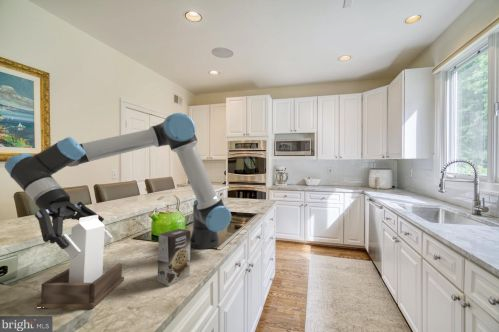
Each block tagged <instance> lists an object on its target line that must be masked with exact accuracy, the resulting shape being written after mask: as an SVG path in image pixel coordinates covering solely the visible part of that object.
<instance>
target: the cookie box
mask: <svg viewBox="0 0 499 332" xmlns="http://www.w3.org/2000/svg"><path fill="white" fill-rule="evenodd" d="M191 233H192V231H191V230H189V229H183V228H176V229H174V230H169V231H165V232H161V233H158V251H157V252H158V253H157V256H158V257H157V282H158V283H161V284H163V285H165V286H167V287H171V286H172V285H175V284H176V283H178V282H179V281H182V280H183V279H185V278H187V277H189V276H190V274H191V273H190V272H191V271H190V270H191V268H190V267H191V264H190V263H191V247H190V237H191Z"/></svg>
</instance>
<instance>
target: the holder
mask: <svg viewBox="0 0 499 332" xmlns="http://www.w3.org/2000/svg"><path fill="white" fill-rule="evenodd" d="M122 274H123V263H122V262H118V263H116V265H114V266H113V267H111V268H110V269H109V270H108V271H106V272H104V273H103V274H102V276H100V277H99V278H98V279H96V280H95V281H94V282H92V283H69V268H68V269H66V270H63V271H62V272H59V273H58V274H57V275H54V276H53V277H52V278H49V279H48V280H46V281H44V282H43V283H41V290H40V291H41V293H40V295H41V296H40V298H41V299H40V302H38V303H36V308H37V307H41V308H43V307H44V308H76V309H75V310H87V309H88V310H89V309H91V310H92V309H94V308H96V307H97V306H98V305H99V304H101V302H102V301H103V300H104V299H105V298H106V297H108V296H109V295H110V294H111V293H112V292H113V291H114V290H116V289H117V288H118V287H119V286H120V285H121V284H122V283H123V282H124V281H125V277H124V276H123V275H122Z"/></svg>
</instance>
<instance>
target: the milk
mask: <svg viewBox="0 0 499 332" xmlns="http://www.w3.org/2000/svg"><path fill="white" fill-rule="evenodd" d="M98 215H99V214H98ZM98 215H93V216H88V217H82V218H79V220H78V223H77V224H75V225H74V226H72V227H71V230H70V232H71V233H70V239H71V240H72V241H73V242H74V243H75V244H76V246H77V247H78V248H79V249H80V250H81V252H80V253H79V254H78V255H77V256H76V257H75V258H73V259H72V258H71V257H70V256H69V267H68V269H69V283H92V282H94V281H95V280H96V279H98V278H99V277H100V276H102V275H103V274H104V273H103V270H104V249H105V247H104V246H105V242H104V232H105V228H106V227H105V225H106V224H104V223H103V221H102V222H101V221H100V220H99V219H98Z"/></svg>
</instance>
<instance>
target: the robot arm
mask: <svg viewBox="0 0 499 332" xmlns="http://www.w3.org/2000/svg"><path fill="white" fill-rule="evenodd" d="M195 133H196V123H195V122H194V121H193V119H192V117H190V116H189V115H188V114H185V113H182V112H174V113H172V114H171V115H170V114H169V115H168V116H167V117H165V119H164V121H162V122H161V123H159V124H156V125H152V126H150V127H149V128H148V129H143V130H140V131H135V132H129V133H124V134H121V135H117V136H110V137H107V138H102V139H101V138H100V139H98V140H92V141H87V142H83V143H78V142H77V140H75V139H74V137H69V136H68V137H65V138H64V139H61V140H59V141H57V142H56V143H54V144H52V145H51V146H49V147H47V148H45V149H43V150H42V151H40V152H38V153H36V154H31V153H26V152H25V153H20V154H18V155H12V156H11V157H10V158H8V159H7V160H6V161H5V162H4V169H5V170H6V172H7V173H8V174H9V176H10V178H11V179H13V180H14V182H15V183H16V184H17V185H18V186H19V187H20V188H21V189H22V190H23V191H24V192H25V193H26V195H27V196H28V197H29V198H30V200H32V202H34V203H35V205H36V206H37V208H38V209H39V210H38V211H37V212H36V213H35V214H34V217H35V218H36V220H37V221H38V224H39V229H40V233H41V238H42V240H43V242H44V243H48V242H49V243H50V244H55V243H56V244H57V246H58V247H59V248H60V249H62V250H64V251H65V252H66V253H67V255H68V256H69V258H70V257H71V258H72V259H73V258H75V257H76V256H77V255H78V254H79V253H80V252H81V250H80V249H79V248H78V247H77V246H76V244H75V243H74V242H73V241H72V240H71V237H70V236H69V235H68V234H67V233H64V232H63V231H64V227H63V226H64V225H63V224H64V221H65V220H70V219H71V220H77V221H79V218H82V217H88V216H93V215H98V219H99V220H100V221H101V222H102V223H103V221H105V218H104V217H103V216H101V215H99V214H98V213H96V212H95V211H93V210H91V209H90V208H89V207H87V206H86V205H85V204H84V203H83V202H81V201H78V202H77V203H75V204H74V202H73V203H72V202H71V197H70V195H69V194H68V193H67V191H66V190H64V189H63V187H62V185H60V183H58V181H57V180H56V179H54V177H53V176H52V175H53V174H57V173H58V172H59V171H61V170H62V169H64V168H65V167H77V166H79V165H83V164H85V163H88V162H93V161H97V160H101V159H106V158H110V157H114V156H118V155H121V154H126V153H130V152H133V151H137V150H142V149H145V148H151V147H156V148H159V147H165V146H169V148H170V151H172V152H174V153H176V155H177V157H178V160H179V161H180V164H181V166H182V168H183V171H184V173H185V175H186V178H187V180H188V182H189V184H190V187H191V190H192V191H193V194H194V196H195V198H196V199H195V200H194V201H193V204H192V208H193V210H192V211H193V213H192V214H193V215H192V217H193V218H192V219H193V220H192V231H191V233H190V248H193V249H199V250H205V249H206V250H207V249H213V248H215V247H218V246H219V245H220V236H219V233H220V232H223V231H224V230H226V229H227V228H228V227H229V225H230V223H231V221H232V213H231V211H230V209H229V208H228V207H227V206H226V205H225V204H224V202H223V199H222V197H221V196H219V195H217V194H216V191H215V189H214V186H213V184H212V181H211V180H210V176H209V174H208V172H207V169H206V166H205V164H204V162H203V159H202V157H201V155H200V152H199V150H198V148H197V143H198V138H197V135H196V134H195ZM51 218H52V219H51ZM107 229H108V228H107V227H105V232H104V244H107V243H109V241H111V240H112V238H113V235H111V233H110V232H109V231H108V230H107ZM63 233H64V234H63Z"/></svg>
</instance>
